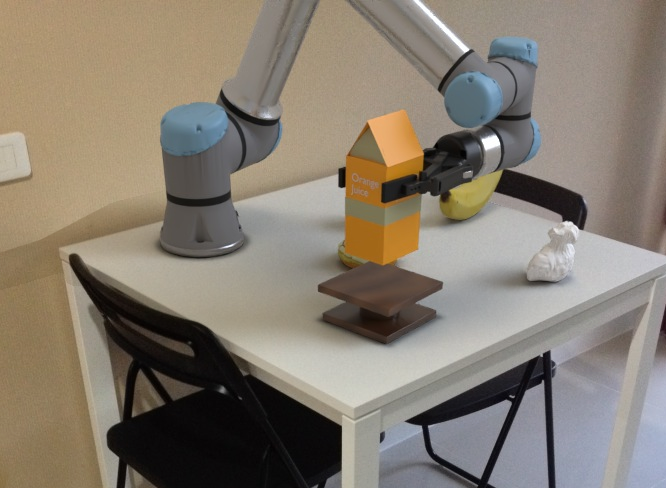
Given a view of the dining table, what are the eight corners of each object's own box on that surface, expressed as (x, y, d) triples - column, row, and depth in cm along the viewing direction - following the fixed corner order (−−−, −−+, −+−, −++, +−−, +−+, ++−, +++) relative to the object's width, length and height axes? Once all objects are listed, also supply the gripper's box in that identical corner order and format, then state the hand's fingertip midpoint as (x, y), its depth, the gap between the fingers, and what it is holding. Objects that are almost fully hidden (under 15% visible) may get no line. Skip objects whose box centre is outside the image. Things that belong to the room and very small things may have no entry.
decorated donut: (376, 279, 169) (377, 258, 167) (326, 264, 174) (326, 244, 172) (408, 260, 176) (409, 240, 174) (359, 247, 181) (360, 227, 179)
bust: (531, 300, 168) (574, 261, 159) (505, 265, 169) (546, 224, 160) (567, 280, 176) (610, 241, 167) (542, 246, 176) (583, 206, 167)
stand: (317, 320, 155) (317, 284, 152) (372, 293, 164) (373, 259, 161) (387, 346, 148) (388, 309, 145) (440, 316, 157) (443, 281, 153)
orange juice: (343, 252, 149) (345, 115, 137) (380, 237, 154) (384, 104, 143) (383, 266, 145) (388, 125, 133) (419, 249, 150) (427, 113, 139)
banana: (454, 232, 188) (463, 124, 176) (428, 226, 191) (435, 119, 179) (507, 201, 203) (518, 100, 191) (482, 196, 206) (492, 95, 194)
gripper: (514, 196, 149) (412, 230, 137) (415, 164, 162) (312, 193, 149) (520, 145, 145) (415, 176, 132) (417, 117, 157) (312, 143, 144)
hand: (361, 185), depth 140 cm, fingers closed on orange juice, 8 cm apart
